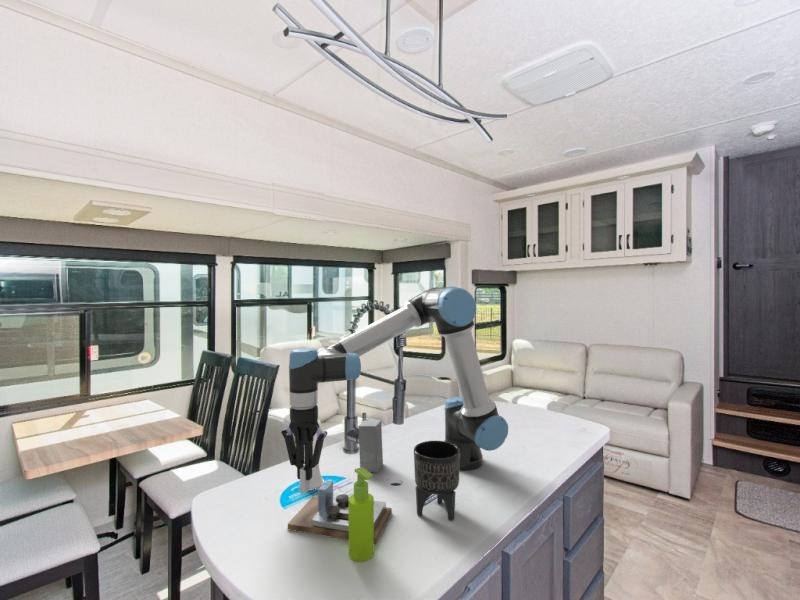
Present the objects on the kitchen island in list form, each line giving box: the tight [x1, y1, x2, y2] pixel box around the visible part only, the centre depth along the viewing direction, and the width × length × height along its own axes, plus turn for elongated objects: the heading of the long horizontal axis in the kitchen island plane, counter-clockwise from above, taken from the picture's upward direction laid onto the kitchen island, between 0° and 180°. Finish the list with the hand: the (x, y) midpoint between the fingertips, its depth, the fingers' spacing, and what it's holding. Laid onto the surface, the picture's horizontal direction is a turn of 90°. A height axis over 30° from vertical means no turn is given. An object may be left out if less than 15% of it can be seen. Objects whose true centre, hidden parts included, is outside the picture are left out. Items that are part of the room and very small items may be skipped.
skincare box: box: [357, 419, 384, 473], centre depth 140 cm, size 8×7×16 cm
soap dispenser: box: [348, 466, 375, 563], centre depth 94 cm, size 6×7×20 cm
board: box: [287, 493, 393, 546], centre depth 107 cm, size 24×14×5 cm, turn 75°
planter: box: [413, 440, 461, 522], centre depth 112 cm, size 13×13×18 cm
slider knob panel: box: [311, 480, 387, 531], centre depth 107 cm, size 16×13×7 cm
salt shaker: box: [304, 450, 325, 491], centre depth 127 cm, size 8×8×10 cm
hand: (304, 490), depth 110 cm, fingers closed
